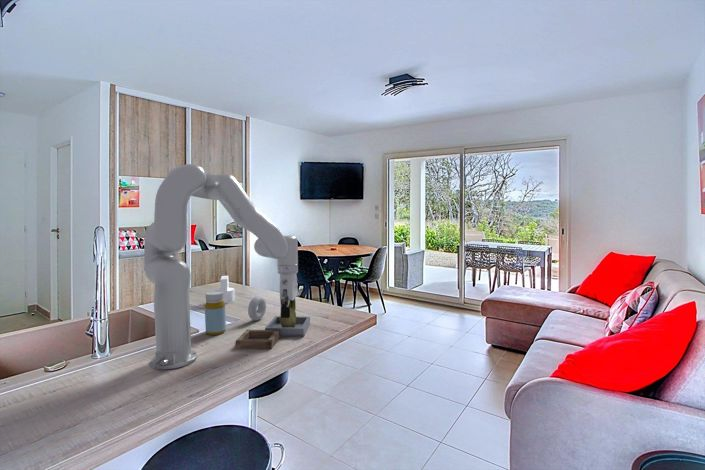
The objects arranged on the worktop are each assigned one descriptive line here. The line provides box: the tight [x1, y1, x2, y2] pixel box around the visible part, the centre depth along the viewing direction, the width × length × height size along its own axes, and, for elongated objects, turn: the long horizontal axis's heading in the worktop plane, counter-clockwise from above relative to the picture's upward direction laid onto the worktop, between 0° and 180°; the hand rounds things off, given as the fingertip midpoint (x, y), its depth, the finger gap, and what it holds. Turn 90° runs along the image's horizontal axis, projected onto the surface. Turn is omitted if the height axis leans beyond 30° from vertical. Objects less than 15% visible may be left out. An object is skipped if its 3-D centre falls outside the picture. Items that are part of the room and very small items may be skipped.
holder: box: [235, 329, 281, 350], centre depth 126 cm, size 11×12×2 cm
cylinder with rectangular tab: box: [214, 275, 236, 304], centre depth 179 cm, size 9×9×12 cm
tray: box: [264, 315, 311, 338], centre depth 138 cm, size 14×14×3 cm
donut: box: [247, 295, 267, 321], centre depth 150 cm, size 10×4×10 cm, turn 159°
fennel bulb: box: [279, 298, 297, 328], centre depth 138 cm, size 6×5×12 cm
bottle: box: [204, 290, 227, 336], centre depth 135 cm, size 7×7×15 cm
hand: (288, 313), depth 138 cm, fingers open, 9 cm apart
